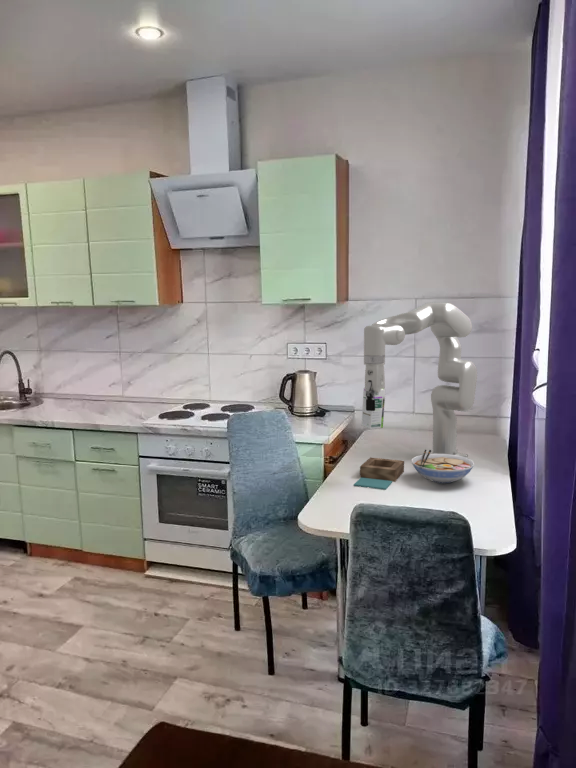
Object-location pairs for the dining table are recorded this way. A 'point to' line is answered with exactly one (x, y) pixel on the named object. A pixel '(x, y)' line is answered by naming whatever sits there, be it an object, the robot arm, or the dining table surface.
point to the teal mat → (373, 483)
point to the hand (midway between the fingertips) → (373, 408)
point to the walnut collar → (382, 469)
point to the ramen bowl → (442, 466)
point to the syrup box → (374, 417)
